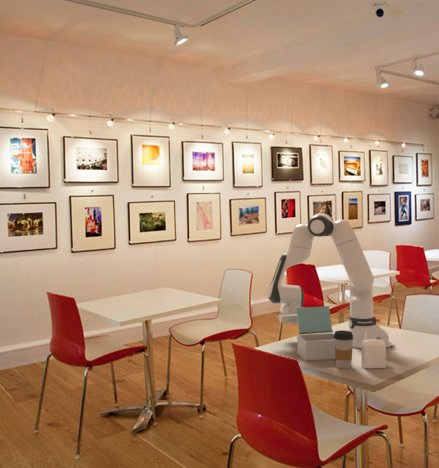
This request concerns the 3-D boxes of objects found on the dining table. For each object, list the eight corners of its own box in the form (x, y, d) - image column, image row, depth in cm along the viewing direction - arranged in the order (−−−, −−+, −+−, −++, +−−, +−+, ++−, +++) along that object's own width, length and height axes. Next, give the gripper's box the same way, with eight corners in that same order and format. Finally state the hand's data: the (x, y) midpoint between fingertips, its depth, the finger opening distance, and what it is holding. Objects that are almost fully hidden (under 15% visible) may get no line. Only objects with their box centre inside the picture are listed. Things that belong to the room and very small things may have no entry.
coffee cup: (353, 370, 227) (353, 335, 226) (333, 369, 228) (333, 334, 227) (353, 364, 235) (352, 330, 234) (333, 363, 236) (333, 329, 235)
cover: (332, 332, 252) (332, 332, 253) (329, 306, 256) (328, 306, 257) (299, 334, 250) (299, 334, 251) (296, 308, 253) (295, 308, 254)
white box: (333, 351, 254) (333, 332, 254) (343, 358, 242) (343, 339, 242) (297, 353, 251) (297, 335, 251) (305, 361, 239) (305, 341, 239)
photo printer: (362, 369, 228) (362, 340, 227) (360, 365, 232) (360, 337, 231) (387, 369, 227) (387, 340, 226) (384, 365, 231) (384, 337, 230)
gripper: (275, 309, 266) (283, 315, 252) (314, 307, 269) (324, 312, 256) (275, 322, 266) (283, 328, 253) (314, 319, 270) (324, 325, 256)
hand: (304, 320), depth 254 cm, fingers closed
